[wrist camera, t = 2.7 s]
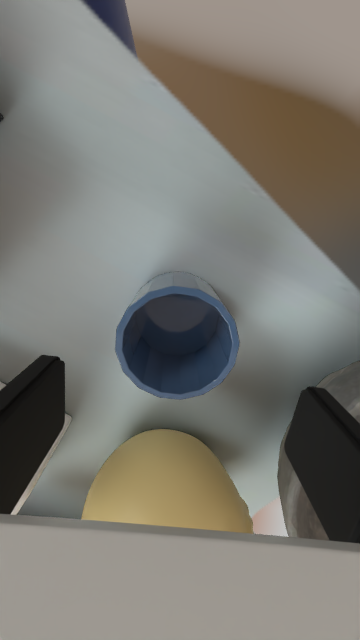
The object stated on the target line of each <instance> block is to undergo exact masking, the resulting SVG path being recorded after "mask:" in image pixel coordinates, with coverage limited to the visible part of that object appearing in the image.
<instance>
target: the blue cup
mask: <svg viewBox="0 0 360 640" xmlns="http://www.w3.org/2000/svg"><path fill="white" fill-rule="evenodd" d="M238 349H239V337H238V332H237V327H236V322H235V320H234V319H233V317H232V316H231V314H230V313H229V311H228V310H227V308H226V307H225V306H224V304H223V303H222V301H221V300H220V298H219V297H218V296H217V294H216V293H215V291H214V290H213V289H212V287H211V286H210V285H209V284H208V283H206V282H205V281H204V280H202V279H201V278H199V277H197V276H195V275H192V274H190V273H185V272H169V273H164V274H161V275H159V276H157V277H155V278H153V279H151V280H150V281H149V282H147V283H146V284H145V285H144V286H143V287H142V288H141V289H140V290H139V292H138V293H137V295H136V296H135V298H134V299H133V301H132V302H131V304H130V305H129V307H128V308H127V310H126V312H125V314H124V315H123V317H122V319H121V321H120V323H119V325H118V327H117V329H116V346H115V351H116V354H117V357H118V360H119V362H120V365H121V367H122V370H123V372H124V373H125V374H126V375H127V376H128V377H129V378H130V379H131V380H132V382H133V383H134V384H135V385H136V386H137V387H139V388H140V389H142V390H144V391H146V392H148V393H151V394H153V395H155V396H157V397H160V398H169V399H178V400H182V399H186V398H191V397H195V396H200V395H203V394H205V393H206V392H208V391H210V390H211V389H213V388H214V387H216V386H217V385H219V384H221V382H223V380H224V379H225V377H226V376H227V375H228V373H229V372H230V371H231V369H232V368H233V367H234V365H235V361H236V357H237V353H238Z"/></svg>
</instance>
